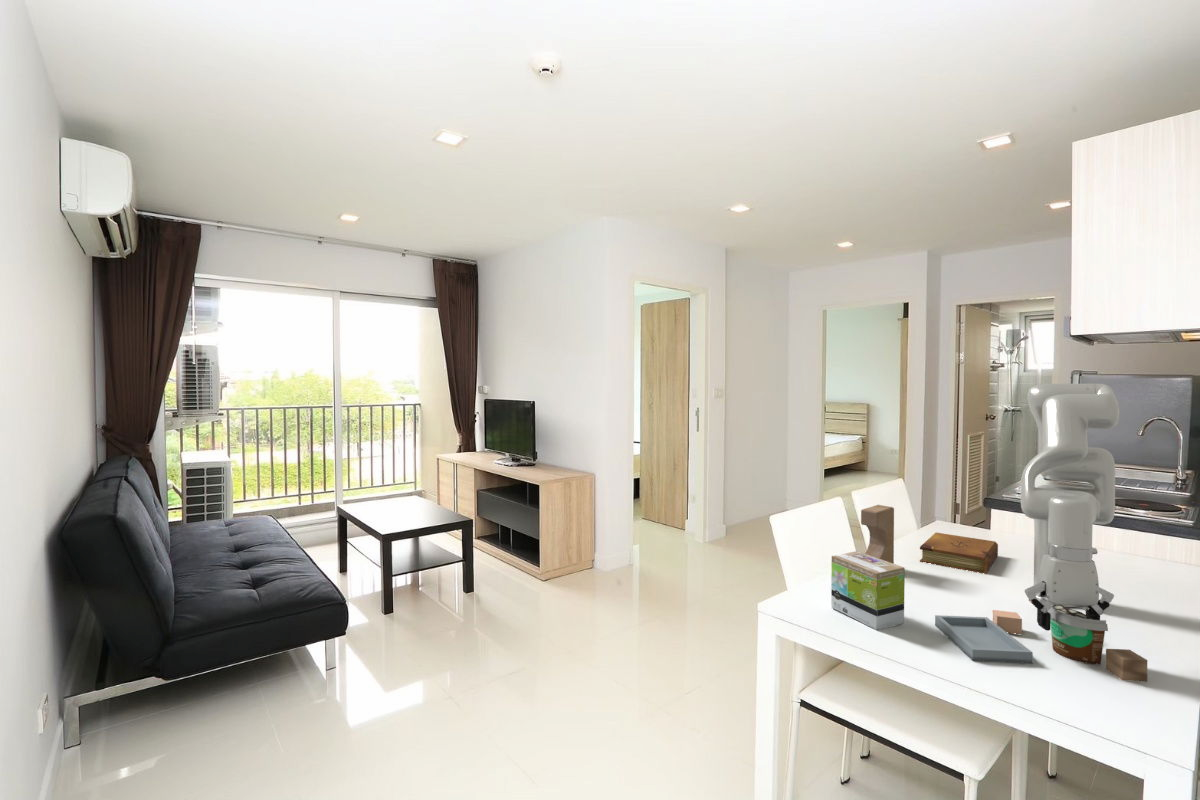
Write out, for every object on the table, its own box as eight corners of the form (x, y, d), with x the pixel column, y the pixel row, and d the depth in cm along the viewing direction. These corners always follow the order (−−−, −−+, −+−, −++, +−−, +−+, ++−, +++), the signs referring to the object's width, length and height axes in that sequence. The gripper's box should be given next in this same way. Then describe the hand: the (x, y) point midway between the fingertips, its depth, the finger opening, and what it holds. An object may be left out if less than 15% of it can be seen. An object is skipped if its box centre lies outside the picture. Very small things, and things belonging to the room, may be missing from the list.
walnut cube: (1129, 670, 119) (1129, 649, 119) (1146, 682, 115) (1147, 660, 115) (1105, 669, 120) (1106, 648, 120) (1122, 680, 116) (1122, 659, 115)
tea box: (829, 608, 153) (829, 554, 152) (857, 602, 157) (857, 549, 156) (876, 631, 139) (877, 571, 138) (905, 624, 143) (906, 565, 142)
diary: (986, 576, 178) (986, 558, 177) (919, 563, 190) (919, 546, 190) (997, 557, 195) (998, 541, 194) (935, 547, 207) (935, 531, 207)
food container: (1031, 642, 132) (1032, 600, 132) (1056, 641, 133) (1056, 598, 132) (1080, 669, 120) (1081, 622, 120) (1107, 667, 120) (1108, 621, 120)
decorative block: (877, 576, 177) (877, 512, 176) (859, 571, 182) (859, 509, 181) (894, 568, 184) (895, 507, 183) (877, 564, 188) (877, 504, 187)
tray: (986, 627, 140) (987, 617, 140) (1032, 663, 123) (1032, 652, 122) (935, 625, 142) (935, 615, 142) (972, 660, 124) (972, 649, 124)
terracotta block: (1016, 628, 140) (1016, 612, 140) (1021, 635, 136) (1022, 619, 136) (992, 625, 142) (992, 609, 142) (996, 632, 138) (997, 616, 138)
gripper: (1100, 548, 128) (1098, 623, 129) (1016, 546, 130) (1015, 620, 131) (1126, 559, 120) (1124, 638, 121) (1037, 556, 123) (1036, 634, 123)
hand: (1067, 629), depth 126 cm, fingers open, 9 cm apart
